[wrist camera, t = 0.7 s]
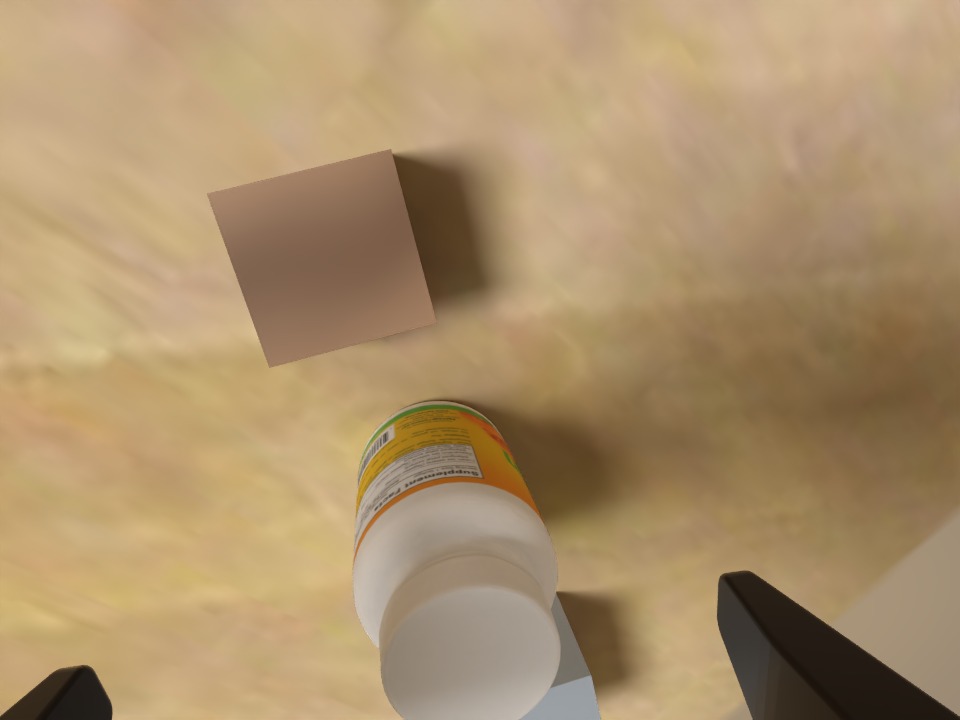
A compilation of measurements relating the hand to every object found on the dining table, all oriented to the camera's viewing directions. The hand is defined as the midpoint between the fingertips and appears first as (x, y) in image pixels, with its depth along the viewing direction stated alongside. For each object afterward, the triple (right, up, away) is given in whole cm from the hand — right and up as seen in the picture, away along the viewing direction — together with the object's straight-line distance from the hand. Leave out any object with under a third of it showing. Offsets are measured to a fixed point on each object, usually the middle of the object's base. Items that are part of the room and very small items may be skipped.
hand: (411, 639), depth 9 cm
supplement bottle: (-1, 0, +14) cm, 14 cm away
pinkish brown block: (-4, +8, +11) cm, 14 cm away
